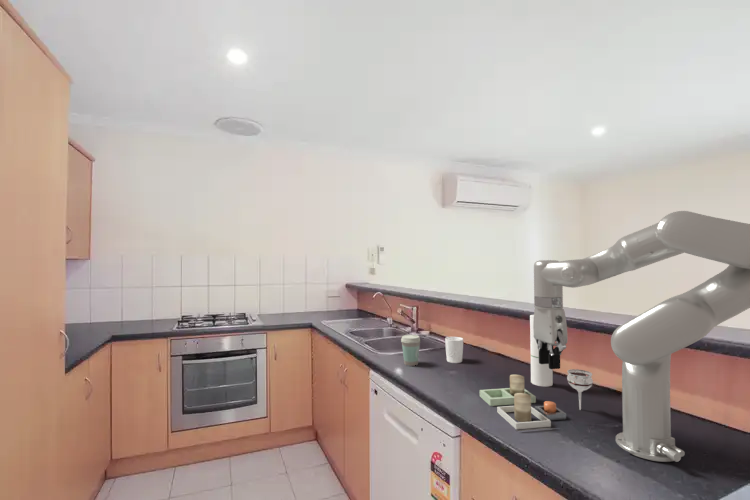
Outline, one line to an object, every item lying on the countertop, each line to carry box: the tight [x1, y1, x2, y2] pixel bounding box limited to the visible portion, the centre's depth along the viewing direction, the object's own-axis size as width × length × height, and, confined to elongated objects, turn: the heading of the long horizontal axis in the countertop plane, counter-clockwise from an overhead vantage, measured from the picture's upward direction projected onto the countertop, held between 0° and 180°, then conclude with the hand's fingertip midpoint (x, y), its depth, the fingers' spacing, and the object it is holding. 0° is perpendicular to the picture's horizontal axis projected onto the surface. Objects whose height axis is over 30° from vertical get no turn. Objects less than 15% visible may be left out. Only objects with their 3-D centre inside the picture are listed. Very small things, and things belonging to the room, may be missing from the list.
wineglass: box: [566, 368, 594, 411], centre depth 112 cm, size 7×7×12 cm
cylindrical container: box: [529, 314, 554, 388], centre depth 135 cm, size 7×7×25 cm
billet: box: [513, 393, 532, 422], centre depth 106 cm, size 4×4×7 cm
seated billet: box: [509, 374, 525, 396], centre depth 121 cm, size 4×4×7 cm
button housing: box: [534, 405, 567, 421], centre depth 108 cm, size 6×6×2 cm
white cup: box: [444, 336, 464, 364], centre depth 167 cm, size 8×8×10 cm
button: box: [543, 400, 557, 413], centre depth 108 cm, size 3×3×3 cm
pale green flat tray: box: [479, 387, 537, 407], centre depth 120 cm, size 8×15×3 cm, turn 98°
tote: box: [496, 405, 552, 432], centre depth 106 cm, size 11×10×2 cm
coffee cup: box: [400, 334, 421, 367], centre depth 163 cm, size 8×8×12 cm
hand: (549, 365), depth 108 cm, fingers open, 4 cm apart
